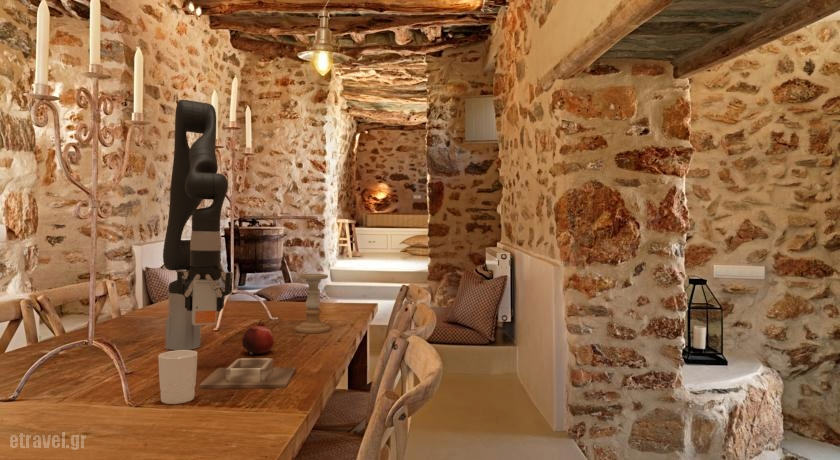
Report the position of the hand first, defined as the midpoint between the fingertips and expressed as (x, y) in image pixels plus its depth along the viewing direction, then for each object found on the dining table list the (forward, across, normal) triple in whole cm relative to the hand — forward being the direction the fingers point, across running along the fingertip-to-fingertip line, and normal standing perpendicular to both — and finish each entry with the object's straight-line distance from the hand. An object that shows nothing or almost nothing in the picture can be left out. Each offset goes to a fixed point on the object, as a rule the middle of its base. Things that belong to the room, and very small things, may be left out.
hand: (204, 310), depth 149 cm
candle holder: (+16, +22, +54) cm, 60 cm away
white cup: (+15, +3, -26) cm, 31 cm away
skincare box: (+4, 0, 0) cm, 4 cm away
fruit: (+16, +10, +18) cm, 26 cm away
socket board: (+15, +14, -10) cm, 23 cm away
